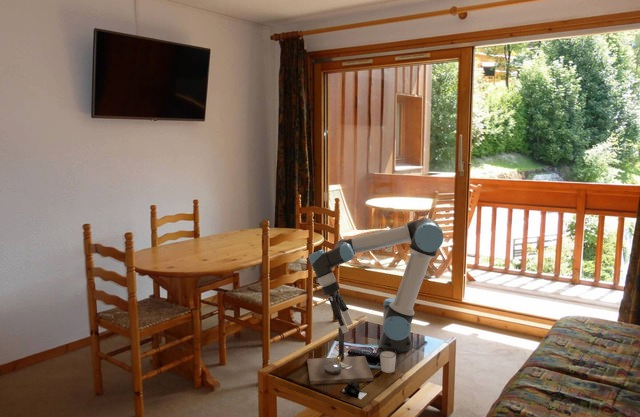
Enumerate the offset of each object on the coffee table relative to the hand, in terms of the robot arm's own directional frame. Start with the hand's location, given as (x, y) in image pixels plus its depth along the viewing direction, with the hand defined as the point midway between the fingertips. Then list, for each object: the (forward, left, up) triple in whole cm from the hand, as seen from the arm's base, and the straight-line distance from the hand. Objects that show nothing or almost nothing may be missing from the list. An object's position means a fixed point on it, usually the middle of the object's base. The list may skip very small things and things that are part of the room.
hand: (348, 328), depth 215 cm
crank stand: (+5, +9, -15) cm, 18 cm away
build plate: (+2, +27, -16) cm, 32 cm away
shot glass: (-16, +10, -15) cm, 24 cm away
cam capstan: (+6, +8, -13) cm, 17 cm away
